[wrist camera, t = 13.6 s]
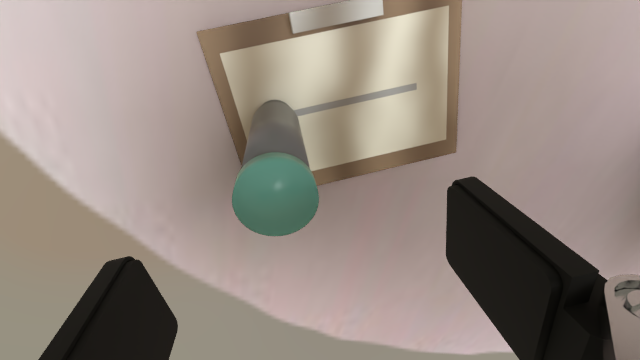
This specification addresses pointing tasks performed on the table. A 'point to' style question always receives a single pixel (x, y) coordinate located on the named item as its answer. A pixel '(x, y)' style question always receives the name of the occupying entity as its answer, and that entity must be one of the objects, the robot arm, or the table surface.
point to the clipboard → (347, 80)
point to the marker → (275, 174)
